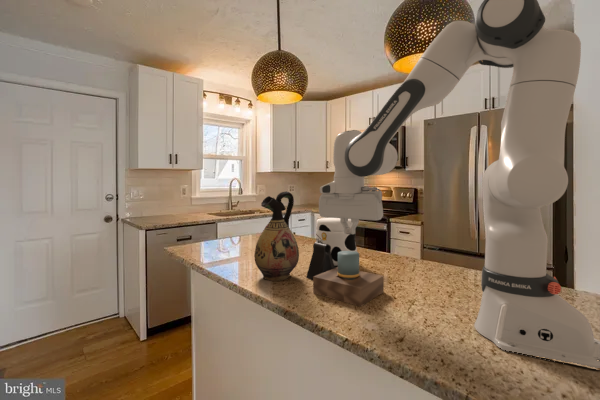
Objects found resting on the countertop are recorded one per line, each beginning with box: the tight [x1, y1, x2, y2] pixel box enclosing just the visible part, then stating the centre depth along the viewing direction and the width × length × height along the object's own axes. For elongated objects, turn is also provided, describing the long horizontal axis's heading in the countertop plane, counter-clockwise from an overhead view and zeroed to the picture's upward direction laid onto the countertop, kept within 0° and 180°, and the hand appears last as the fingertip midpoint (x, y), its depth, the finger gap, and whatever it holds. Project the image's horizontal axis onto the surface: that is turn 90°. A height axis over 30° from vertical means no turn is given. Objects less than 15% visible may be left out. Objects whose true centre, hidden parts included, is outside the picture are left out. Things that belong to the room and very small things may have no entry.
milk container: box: [315, 217, 358, 268], centre depth 126 cm, size 17×17×18 cm
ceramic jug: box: [253, 191, 300, 282], centre depth 110 cm, size 17×15×30 cm
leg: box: [338, 251, 360, 280], centre depth 95 cm, size 6×6×12 cm
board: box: [312, 267, 385, 307], centre depth 95 cm, size 16×14×5 cm
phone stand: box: [306, 241, 336, 281], centre depth 110 cm, size 9×6×12 cm, turn 126°
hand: (349, 233), depth 94 cm, fingers closed
